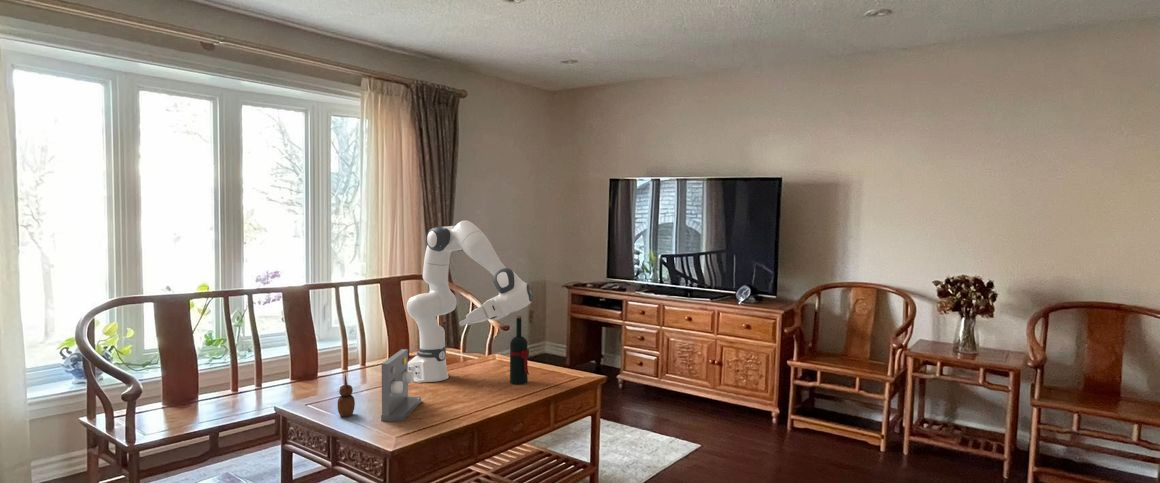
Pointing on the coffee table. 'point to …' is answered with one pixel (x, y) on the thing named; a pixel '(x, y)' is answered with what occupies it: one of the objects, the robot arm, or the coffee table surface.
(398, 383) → the unlit button
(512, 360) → the wine bottle
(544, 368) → the coffee table surface
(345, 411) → the wooden figurine
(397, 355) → the control panel
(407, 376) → the beige rounded lump
